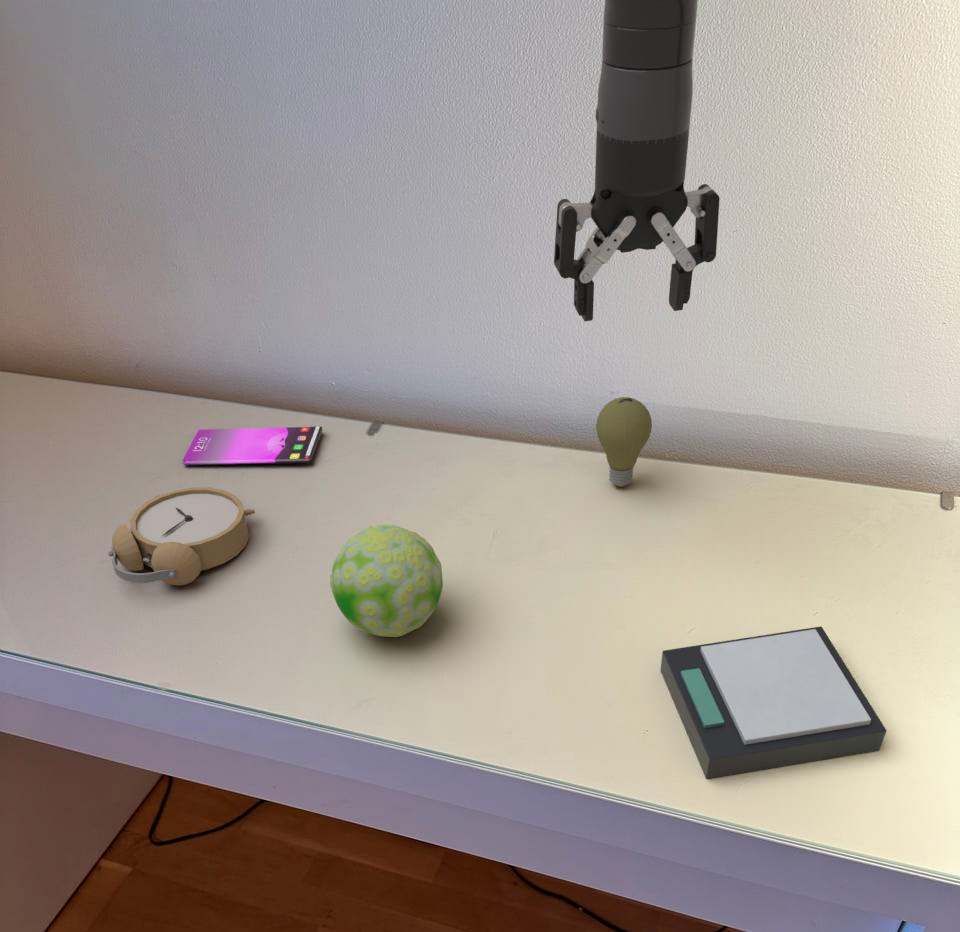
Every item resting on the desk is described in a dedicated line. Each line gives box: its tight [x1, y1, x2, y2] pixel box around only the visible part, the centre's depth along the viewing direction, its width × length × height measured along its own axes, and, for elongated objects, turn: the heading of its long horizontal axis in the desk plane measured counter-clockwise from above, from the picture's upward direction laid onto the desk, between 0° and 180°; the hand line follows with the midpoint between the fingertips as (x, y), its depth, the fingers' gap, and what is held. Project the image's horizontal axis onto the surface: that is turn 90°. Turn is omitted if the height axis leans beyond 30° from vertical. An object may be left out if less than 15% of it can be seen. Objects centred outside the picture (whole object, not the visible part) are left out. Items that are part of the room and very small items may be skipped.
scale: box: [660, 626, 887, 780], centre depth 77 cm, size 14×12×3 cm
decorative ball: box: [329, 524, 444, 638], centre depth 85 cm, size 10×10×10 cm
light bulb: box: [595, 396, 653, 488], centre depth 99 cm, size 6×6×10 cm
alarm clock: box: [107, 487, 256, 586], centre depth 96 cm, size 11×5×15 cm
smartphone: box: [181, 426, 323, 466], centre depth 111 cm, size 7×15×1 cm, turn 86°
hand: (631, 312), depth 89 cm, fingers open, 8 cm apart
